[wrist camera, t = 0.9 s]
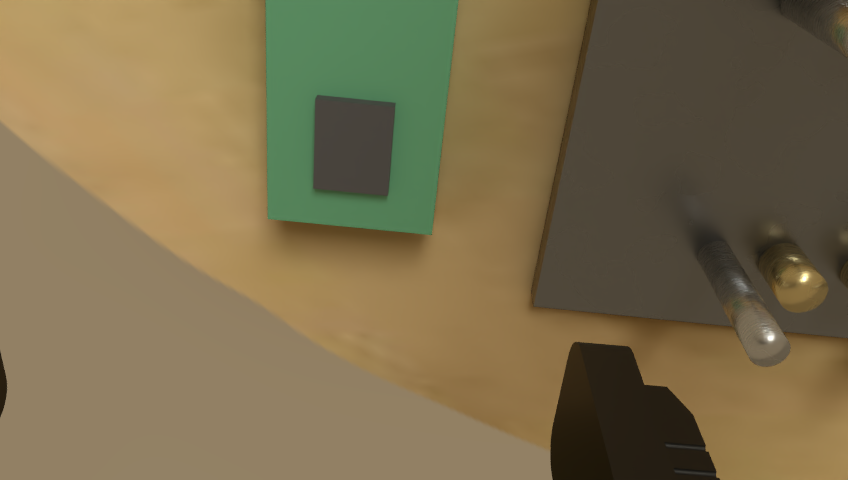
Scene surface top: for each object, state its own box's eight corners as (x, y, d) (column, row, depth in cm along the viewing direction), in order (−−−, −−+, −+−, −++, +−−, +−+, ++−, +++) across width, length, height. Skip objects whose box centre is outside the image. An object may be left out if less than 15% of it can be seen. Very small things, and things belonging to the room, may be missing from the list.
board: (286, -194, 22) (260, -192, 19) (474, -173, 22) (478, -169, 19) (285, 180, 28) (265, 224, 25) (433, 194, 28) (431, 240, 25)
